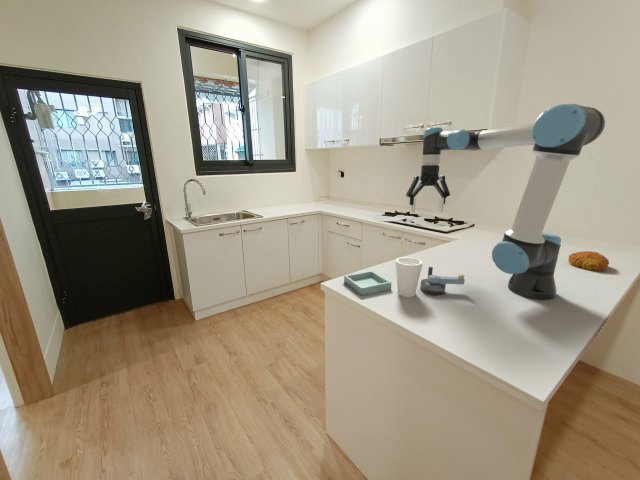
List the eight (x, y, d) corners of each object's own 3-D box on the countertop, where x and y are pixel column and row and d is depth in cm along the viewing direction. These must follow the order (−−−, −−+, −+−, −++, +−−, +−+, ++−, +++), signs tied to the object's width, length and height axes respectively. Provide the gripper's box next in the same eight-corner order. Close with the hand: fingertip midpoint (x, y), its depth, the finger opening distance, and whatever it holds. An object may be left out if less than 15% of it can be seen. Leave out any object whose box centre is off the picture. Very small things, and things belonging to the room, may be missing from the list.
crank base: (451, 292, 113) (453, 276, 111) (432, 297, 109) (433, 280, 107) (429, 281, 123) (430, 266, 122) (410, 285, 120) (411, 270, 118)
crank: (429, 284, 112) (429, 276, 111) (426, 280, 116) (427, 272, 115) (464, 285, 111) (465, 277, 110) (461, 281, 115) (462, 273, 114)
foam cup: (405, 300, 106) (408, 267, 103) (388, 291, 114) (390, 259, 111) (424, 295, 111) (427, 262, 107) (407, 286, 118) (409, 255, 115)
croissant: (605, 269, 141) (610, 253, 140) (607, 274, 130) (612, 256, 129) (567, 262, 151) (571, 247, 149) (565, 265, 139) (569, 249, 138)
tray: (391, 289, 116) (391, 282, 115) (361, 295, 110) (361, 288, 110) (371, 277, 128) (372, 270, 127) (344, 282, 123) (344, 275, 122)
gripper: (452, 164, 137) (447, 209, 142) (400, 165, 134) (397, 211, 139) (461, 164, 130) (456, 212, 135) (407, 165, 127) (404, 213, 132)
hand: (426, 211), depth 137 cm, fingers open, 13 cm apart
